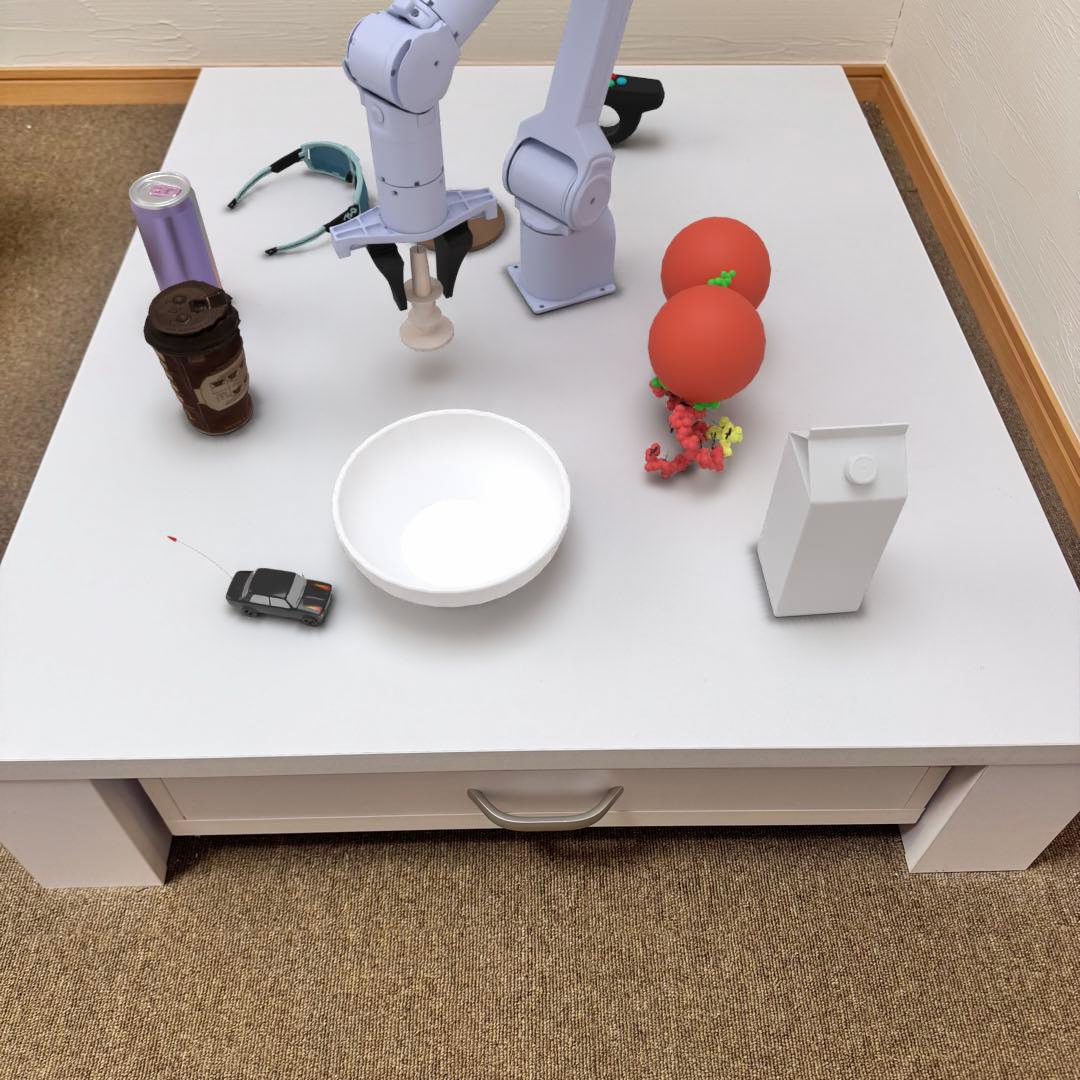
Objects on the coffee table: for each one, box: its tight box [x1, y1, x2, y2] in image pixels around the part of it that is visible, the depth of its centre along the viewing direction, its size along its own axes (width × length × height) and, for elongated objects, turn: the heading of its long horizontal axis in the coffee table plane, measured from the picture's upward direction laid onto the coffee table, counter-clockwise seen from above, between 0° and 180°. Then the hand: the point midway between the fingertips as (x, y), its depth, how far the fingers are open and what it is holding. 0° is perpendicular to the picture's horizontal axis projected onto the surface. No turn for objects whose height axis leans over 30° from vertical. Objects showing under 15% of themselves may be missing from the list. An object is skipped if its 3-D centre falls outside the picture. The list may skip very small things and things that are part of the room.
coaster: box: [416, 189, 506, 253], centre depth 120 cm, size 11×11×1 cm
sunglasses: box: [226, 140, 370, 256], centre depth 120 cm, size 14×15×5 cm
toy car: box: [167, 535, 333, 627], centre depth 86 cm, size 4×12×8 cm, turn 80°
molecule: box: [643, 216, 772, 479], centre depth 98 cm, size 25×11×15 cm, turn 173°
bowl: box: [331, 408, 572, 608], centre depth 90 cm, size 20×20×7 cm
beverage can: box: [128, 170, 224, 292], centre depth 105 cm, size 6×6×15 cm
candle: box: [398, 243, 455, 353], centre depth 98 cm, size 5×5×10 cm
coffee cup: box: [142, 280, 254, 436], centre depth 97 cm, size 9×8×13 cm
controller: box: [599, 72, 666, 146], centre depth 126 cm, size 4×12×10 cm, turn 78°
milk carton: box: [756, 421, 910, 618], centre depth 83 cm, size 7×7×19 cm
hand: (423, 297), depth 98 cm, fingers closed on candle, 4 cm apart
